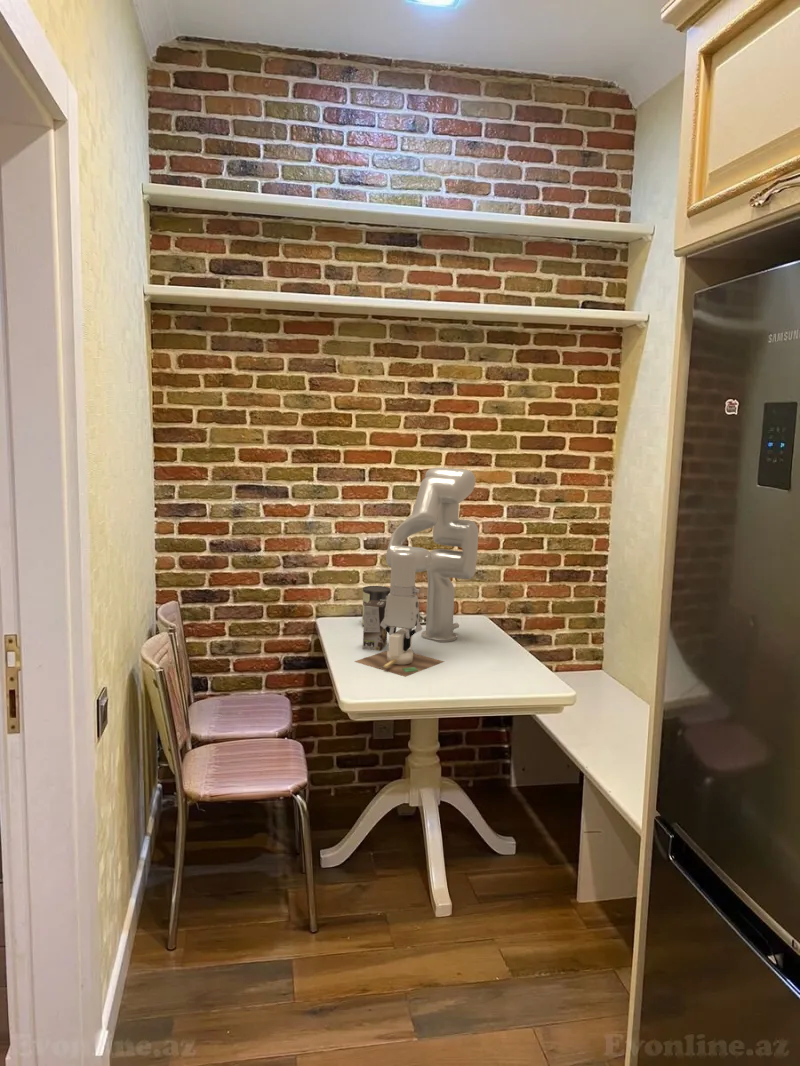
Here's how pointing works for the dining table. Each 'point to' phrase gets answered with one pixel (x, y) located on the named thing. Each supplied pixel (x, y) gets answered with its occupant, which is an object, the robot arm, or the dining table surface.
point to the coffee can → (374, 595)
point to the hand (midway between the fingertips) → (400, 648)
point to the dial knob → (398, 649)
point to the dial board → (403, 670)
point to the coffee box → (374, 626)
